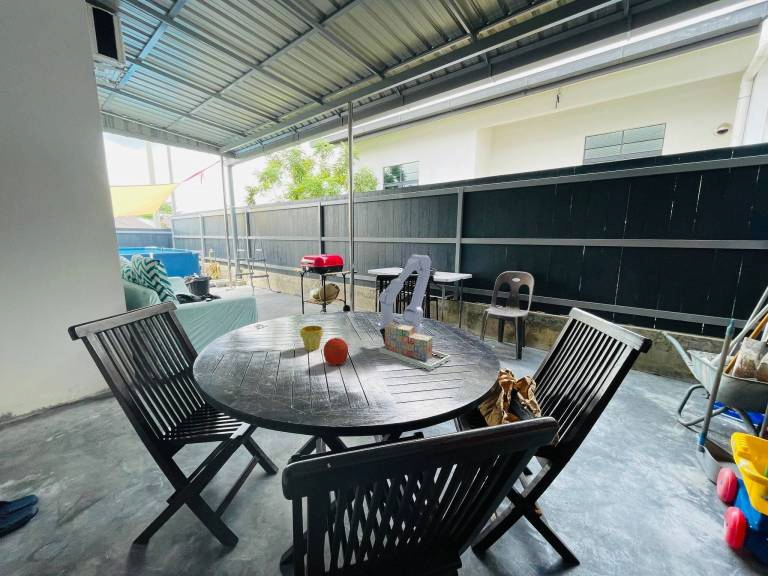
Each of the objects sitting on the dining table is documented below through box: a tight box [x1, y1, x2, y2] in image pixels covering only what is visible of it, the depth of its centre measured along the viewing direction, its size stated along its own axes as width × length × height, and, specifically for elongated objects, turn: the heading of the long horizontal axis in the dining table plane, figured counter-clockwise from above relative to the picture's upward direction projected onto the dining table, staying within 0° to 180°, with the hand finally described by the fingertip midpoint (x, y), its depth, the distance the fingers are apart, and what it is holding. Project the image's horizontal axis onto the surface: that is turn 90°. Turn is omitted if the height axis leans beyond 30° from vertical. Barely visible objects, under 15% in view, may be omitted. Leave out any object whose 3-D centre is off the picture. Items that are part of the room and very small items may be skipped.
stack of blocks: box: [384, 322, 434, 361], centre depth 141 cm, size 21×6×12 cm, turn 57°
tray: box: [378, 347, 452, 371], centre depth 139 cm, size 16×29×2 cm, turn 47°
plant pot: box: [299, 324, 324, 352], centre depth 146 cm, size 10×10×10 cm
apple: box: [323, 337, 349, 366], centre depth 129 cm, size 10×10×12 cm
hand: (386, 343), depth 151 cm, fingers closed
